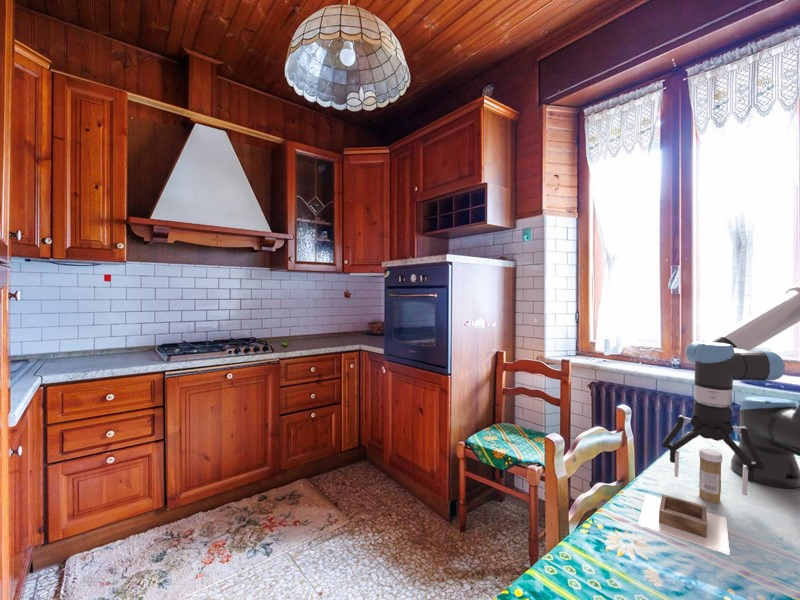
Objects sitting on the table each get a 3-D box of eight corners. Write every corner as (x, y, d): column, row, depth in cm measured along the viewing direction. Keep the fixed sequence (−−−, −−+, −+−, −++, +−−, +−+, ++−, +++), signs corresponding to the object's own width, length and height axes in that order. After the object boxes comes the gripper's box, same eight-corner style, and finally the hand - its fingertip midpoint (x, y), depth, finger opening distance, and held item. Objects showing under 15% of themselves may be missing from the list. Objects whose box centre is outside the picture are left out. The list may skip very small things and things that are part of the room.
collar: (706, 519, 89) (706, 506, 88) (706, 538, 82) (706, 524, 82) (662, 505, 94) (662, 494, 94) (658, 522, 87) (659, 510, 87)
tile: (726, 521, 89) (726, 517, 89) (729, 560, 77) (729, 555, 77) (646, 497, 99) (646, 494, 99) (638, 528, 87) (638, 524, 87)
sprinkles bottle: (723, 503, 97) (725, 452, 96) (717, 509, 94) (718, 456, 94) (701, 495, 100) (703, 446, 100) (695, 500, 98) (696, 450, 97)
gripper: (652, 396, 101) (649, 473, 102) (783, 417, 85) (779, 508, 86) (655, 390, 107) (652, 463, 108) (778, 409, 91) (774, 494, 92)
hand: (708, 483), depth 97 cm, fingers open, 13 cm apart
